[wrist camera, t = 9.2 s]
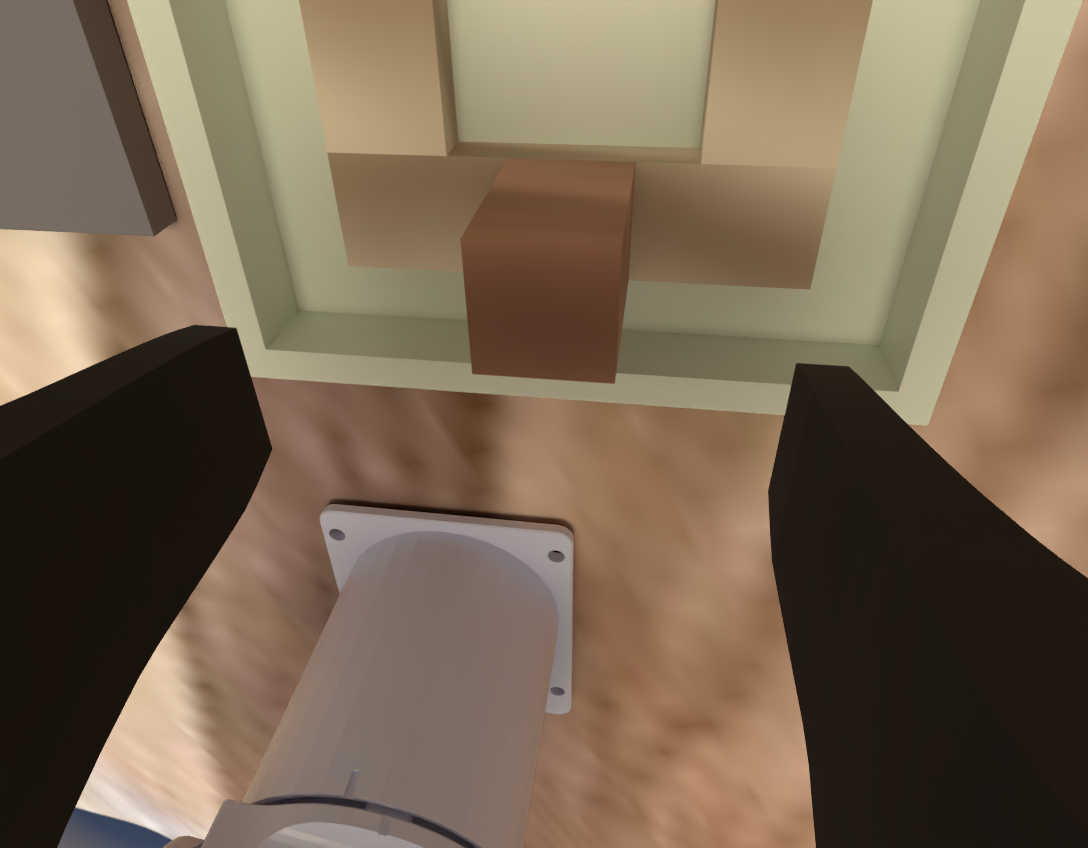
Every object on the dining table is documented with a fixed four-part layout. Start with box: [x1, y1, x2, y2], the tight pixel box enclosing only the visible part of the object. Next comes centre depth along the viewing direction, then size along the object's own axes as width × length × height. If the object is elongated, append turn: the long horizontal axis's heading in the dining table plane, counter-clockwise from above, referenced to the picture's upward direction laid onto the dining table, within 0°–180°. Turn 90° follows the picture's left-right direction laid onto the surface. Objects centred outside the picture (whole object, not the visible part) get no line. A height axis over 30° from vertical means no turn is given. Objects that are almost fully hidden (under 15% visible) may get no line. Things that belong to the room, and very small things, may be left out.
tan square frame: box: [299, 0, 873, 384], centre depth 12 cm, size 10×10×5 cm
